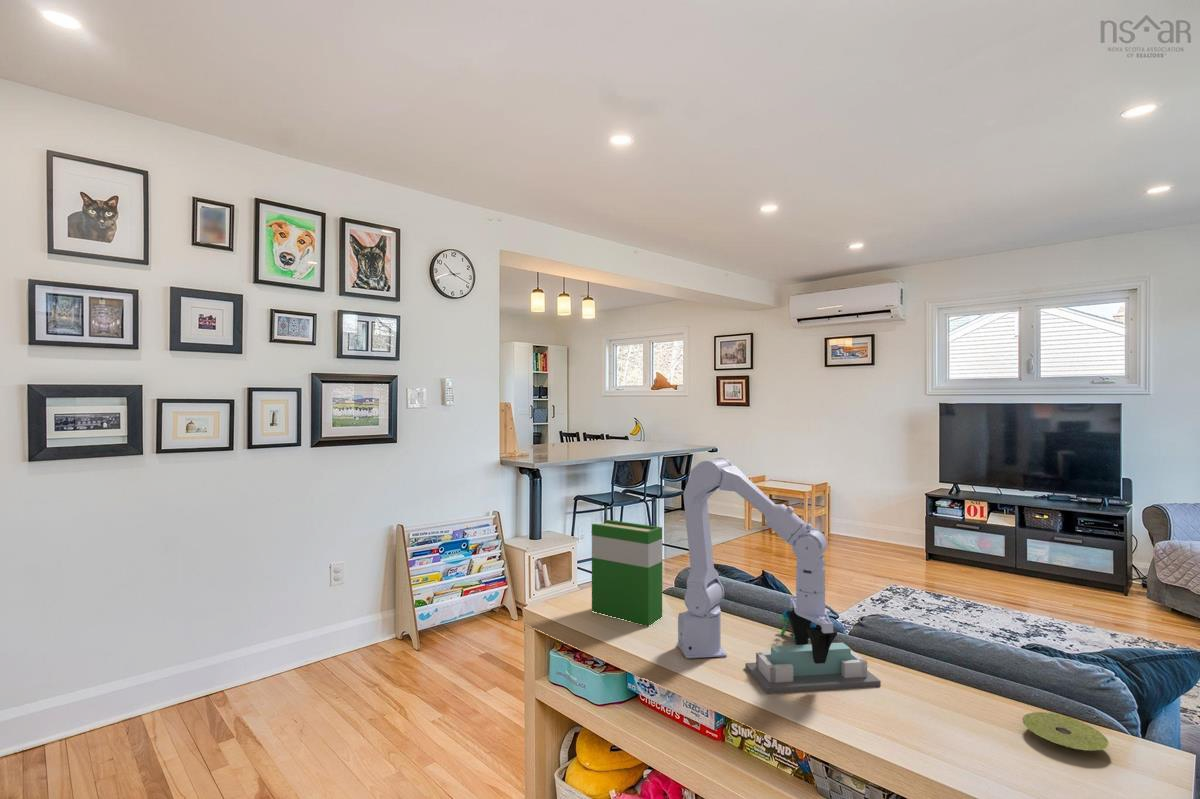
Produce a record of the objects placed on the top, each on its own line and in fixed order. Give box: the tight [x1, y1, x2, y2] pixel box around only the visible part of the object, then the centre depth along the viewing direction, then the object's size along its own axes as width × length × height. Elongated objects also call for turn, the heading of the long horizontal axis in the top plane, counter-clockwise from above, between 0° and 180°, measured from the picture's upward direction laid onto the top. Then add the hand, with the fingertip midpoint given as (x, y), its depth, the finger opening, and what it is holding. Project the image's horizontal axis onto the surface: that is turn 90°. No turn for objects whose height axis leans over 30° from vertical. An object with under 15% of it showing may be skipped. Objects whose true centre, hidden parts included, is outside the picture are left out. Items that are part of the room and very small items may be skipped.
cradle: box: [744, 649, 882, 694], centre depth 119 cm, size 24×11×4 cm, turn 97°
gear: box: [780, 608, 816, 643], centre depth 138 cm, size 11×6×10 cm
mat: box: [1021, 711, 1109, 751], centre depth 96 cm, size 11×11×2 cm
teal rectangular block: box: [770, 642, 852, 676], centre depth 119 cm, size 16×3×5 cm, turn 97°
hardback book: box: [591, 519, 663, 627], centre depth 154 cm, size 18×7×24 cm, turn 56°
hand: (810, 654), depth 119 cm, fingers open, 7 cm apart
